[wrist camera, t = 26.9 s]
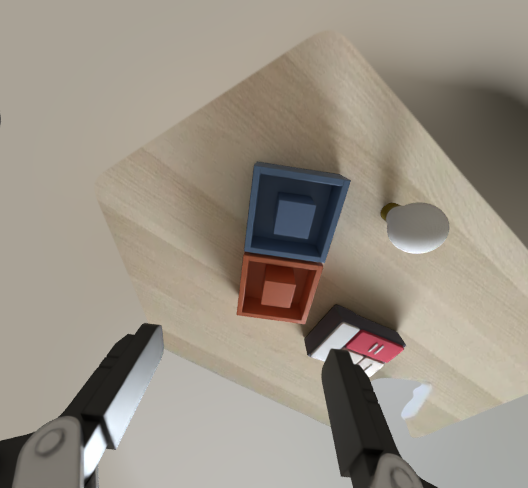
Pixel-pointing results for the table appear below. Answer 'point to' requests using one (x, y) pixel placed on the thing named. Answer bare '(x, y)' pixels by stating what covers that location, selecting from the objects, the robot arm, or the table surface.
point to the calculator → (354, 339)
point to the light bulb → (415, 226)
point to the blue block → (293, 215)
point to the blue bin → (303, 183)
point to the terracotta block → (278, 286)
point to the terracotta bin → (253, 280)
